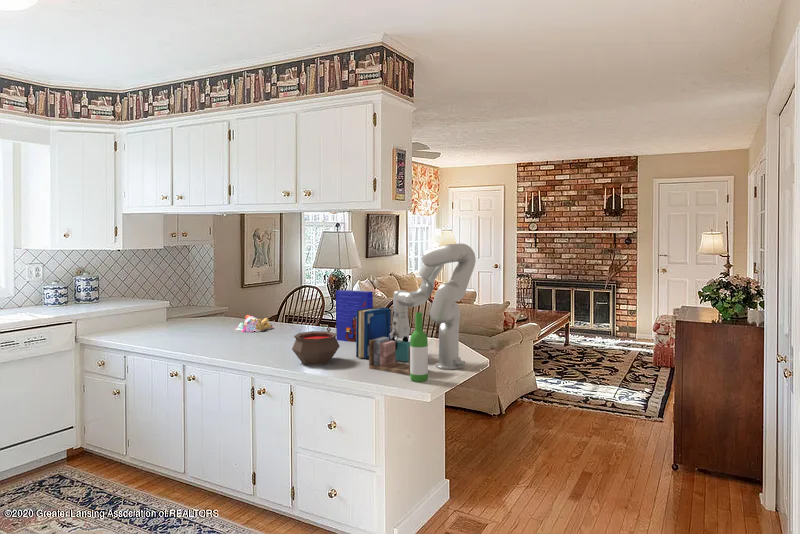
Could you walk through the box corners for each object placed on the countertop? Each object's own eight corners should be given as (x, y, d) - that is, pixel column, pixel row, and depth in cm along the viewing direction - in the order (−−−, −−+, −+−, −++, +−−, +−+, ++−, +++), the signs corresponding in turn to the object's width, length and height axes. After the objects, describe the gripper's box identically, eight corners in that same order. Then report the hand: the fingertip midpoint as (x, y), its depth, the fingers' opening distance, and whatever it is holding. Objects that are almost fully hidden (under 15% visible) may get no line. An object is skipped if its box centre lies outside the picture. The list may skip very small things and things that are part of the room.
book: (382, 350, 309) (382, 305, 307) (392, 352, 304) (392, 306, 303) (355, 357, 292) (354, 310, 290) (365, 359, 288) (365, 311, 286)
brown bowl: (312, 354, 301) (312, 324, 300) (349, 359, 289) (349, 327, 288) (281, 363, 281) (281, 331, 279) (320, 369, 268) (319, 335, 267)
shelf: (425, 370, 266) (424, 341, 265) (411, 375, 257) (410, 345, 256) (384, 363, 280) (383, 335, 279) (369, 368, 270) (368, 339, 269)
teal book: (412, 360, 287) (412, 342, 287) (407, 361, 284) (407, 344, 283) (394, 357, 294) (394, 340, 293) (389, 358, 290) (389, 341, 289)
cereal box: (373, 341, 335) (372, 291, 332) (368, 343, 329) (367, 292, 327) (341, 338, 344) (341, 289, 342) (336, 340, 339) (335, 290, 337)
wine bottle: (429, 378, 252) (429, 311, 250) (426, 383, 244) (426, 314, 242) (412, 377, 253) (411, 311, 251) (408, 382, 246) (408, 313, 244)
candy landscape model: (278, 327, 387) (278, 313, 386) (262, 333, 364) (262, 319, 363) (245, 325, 392) (245, 312, 392) (227, 332, 369) (227, 318, 369)
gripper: (396, 317, 278) (396, 351, 279) (415, 313, 292) (415, 345, 294) (384, 316, 282) (384, 349, 284) (403, 311, 296) (403, 343, 298)
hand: (399, 347), depth 289 cm, fingers open, 9 cm apart
